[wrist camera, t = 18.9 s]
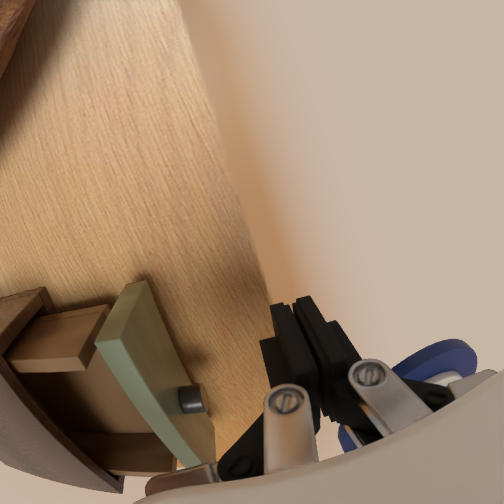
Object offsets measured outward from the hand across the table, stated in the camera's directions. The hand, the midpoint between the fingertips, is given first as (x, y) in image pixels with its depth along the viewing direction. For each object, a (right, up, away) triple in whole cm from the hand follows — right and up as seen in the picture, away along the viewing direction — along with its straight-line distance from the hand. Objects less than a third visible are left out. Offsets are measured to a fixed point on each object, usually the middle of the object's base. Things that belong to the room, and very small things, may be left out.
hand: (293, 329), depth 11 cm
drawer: (-12, -5, +4) cm, 13 cm away
